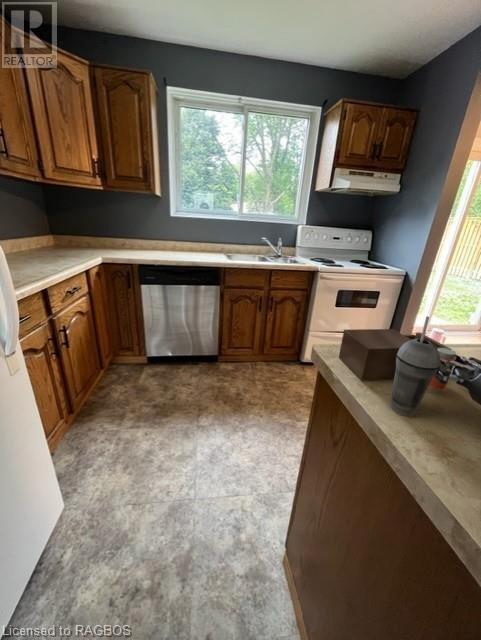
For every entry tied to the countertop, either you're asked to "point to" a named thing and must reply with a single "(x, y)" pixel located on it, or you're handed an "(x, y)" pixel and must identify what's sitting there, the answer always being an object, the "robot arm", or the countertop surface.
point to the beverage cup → (413, 374)
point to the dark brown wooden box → (371, 352)
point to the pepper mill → (448, 356)
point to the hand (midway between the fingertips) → (433, 353)
